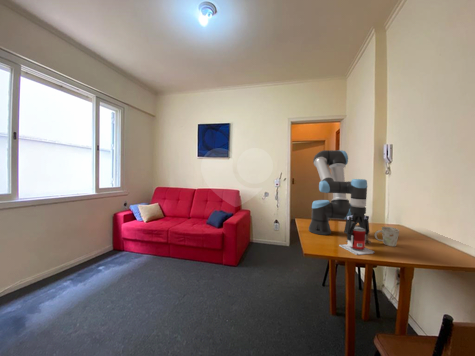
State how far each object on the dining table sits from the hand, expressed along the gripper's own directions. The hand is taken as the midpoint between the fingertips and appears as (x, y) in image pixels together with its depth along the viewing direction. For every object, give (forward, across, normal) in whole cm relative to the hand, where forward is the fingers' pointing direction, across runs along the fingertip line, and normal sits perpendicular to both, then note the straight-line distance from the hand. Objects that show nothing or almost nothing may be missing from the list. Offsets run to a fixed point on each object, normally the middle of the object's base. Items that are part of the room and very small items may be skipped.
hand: (356, 245), depth 103 cm
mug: (+3, +26, +3) cm, 26 cm away
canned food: (+1, 0, 0) cm, 1 cm away
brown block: (+2, +11, +8) cm, 14 cm away
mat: (+2, 0, 0) cm, 2 cm away
